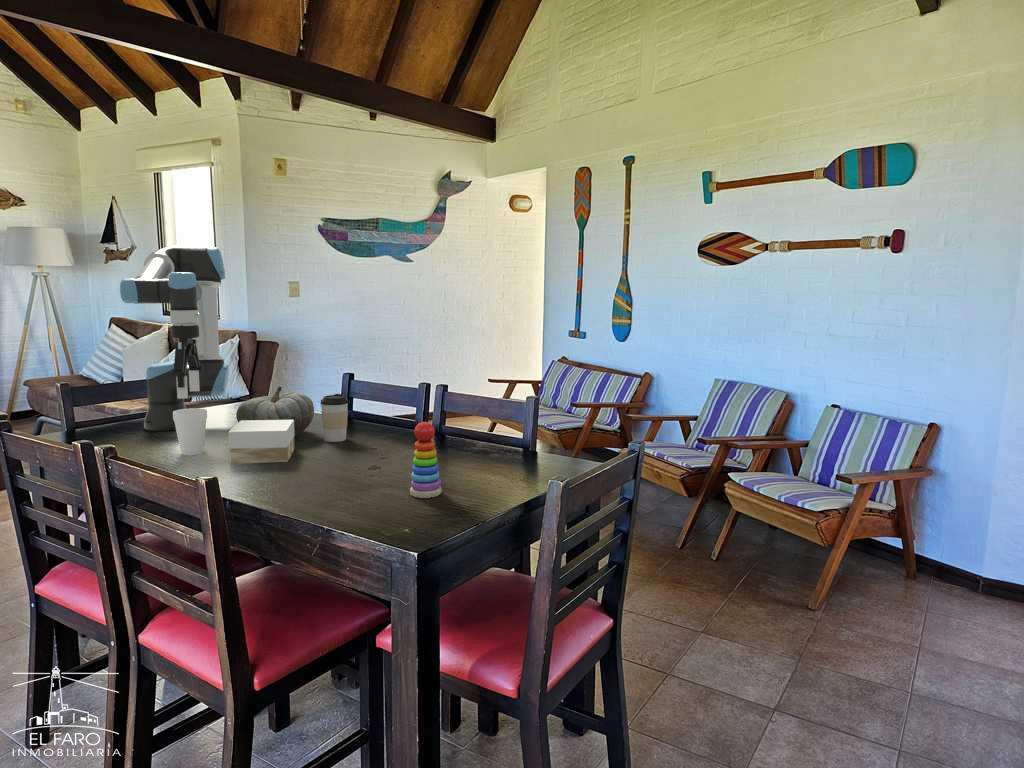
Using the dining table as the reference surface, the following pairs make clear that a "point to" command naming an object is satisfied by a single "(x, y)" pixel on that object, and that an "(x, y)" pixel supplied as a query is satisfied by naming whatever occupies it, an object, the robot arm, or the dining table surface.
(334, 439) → the coffee cup
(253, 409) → the gourd
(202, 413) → the foam cup
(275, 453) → the birch base block
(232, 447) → the white square block
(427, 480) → the stacking toy
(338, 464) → the dining table surface
